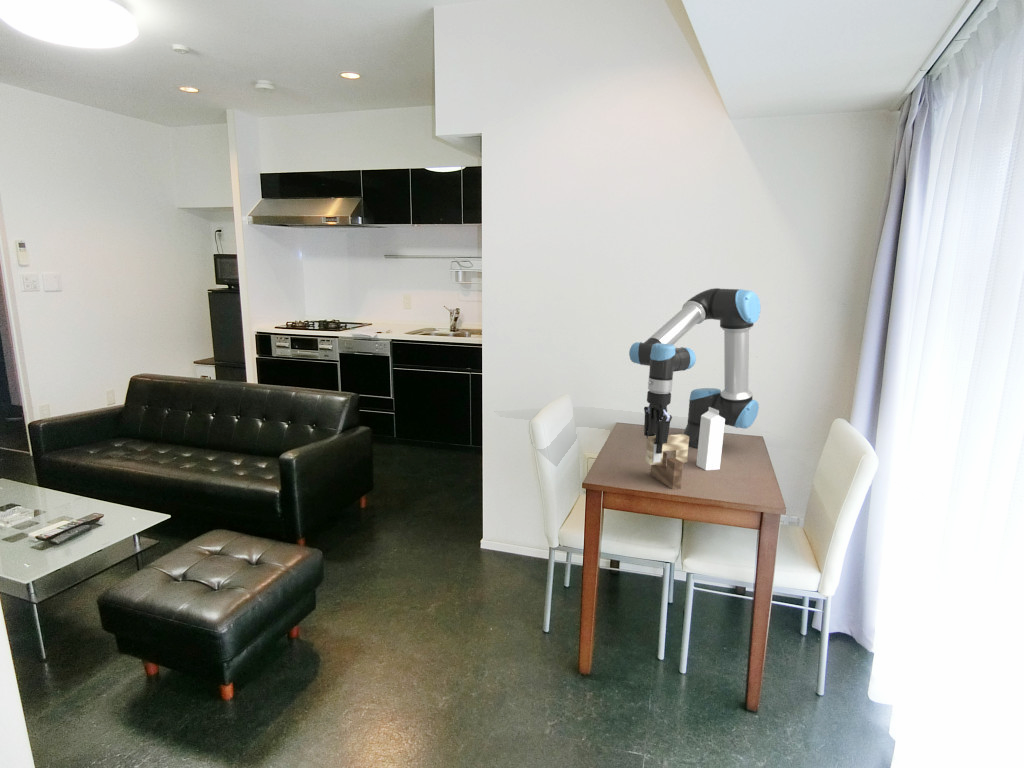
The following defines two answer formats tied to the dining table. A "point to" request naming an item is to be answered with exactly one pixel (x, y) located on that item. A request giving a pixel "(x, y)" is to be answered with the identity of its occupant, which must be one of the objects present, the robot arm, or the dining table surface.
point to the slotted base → (668, 472)
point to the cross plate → (669, 448)
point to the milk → (710, 440)
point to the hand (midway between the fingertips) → (653, 460)
